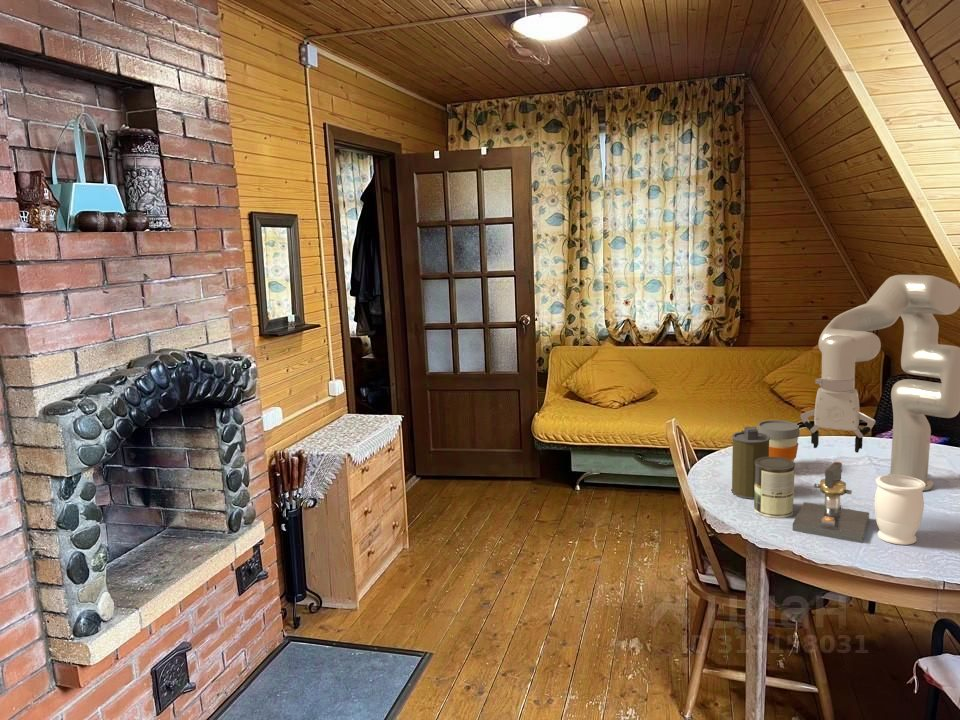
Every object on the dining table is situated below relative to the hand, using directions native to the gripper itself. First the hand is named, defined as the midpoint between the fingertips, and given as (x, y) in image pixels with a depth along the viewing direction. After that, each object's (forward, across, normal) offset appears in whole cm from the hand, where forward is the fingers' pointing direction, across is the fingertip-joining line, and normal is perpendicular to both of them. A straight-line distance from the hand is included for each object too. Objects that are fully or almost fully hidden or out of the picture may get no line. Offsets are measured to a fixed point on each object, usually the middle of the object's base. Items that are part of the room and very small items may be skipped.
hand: (836, 448), depth 186 cm
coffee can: (+21, -16, +1) cm, 26 cm away
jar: (+21, +14, -3) cm, 26 cm away
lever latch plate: (+21, -1, -2) cm, 21 cm away
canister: (+21, -25, +12) cm, 35 cm away
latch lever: (+11, 0, -1) cm, 11 cm away
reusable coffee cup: (+22, -22, +35) cm, 47 cm away
